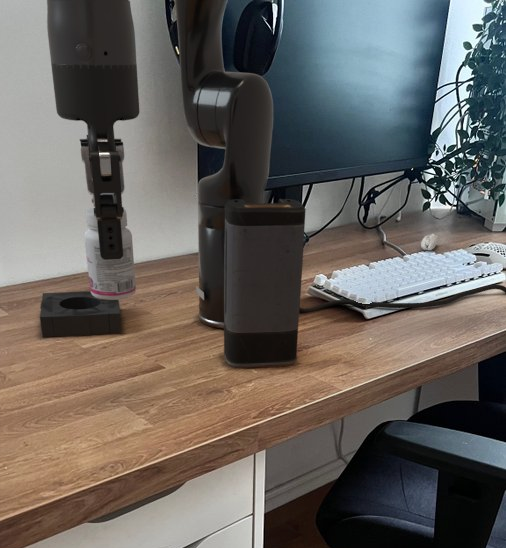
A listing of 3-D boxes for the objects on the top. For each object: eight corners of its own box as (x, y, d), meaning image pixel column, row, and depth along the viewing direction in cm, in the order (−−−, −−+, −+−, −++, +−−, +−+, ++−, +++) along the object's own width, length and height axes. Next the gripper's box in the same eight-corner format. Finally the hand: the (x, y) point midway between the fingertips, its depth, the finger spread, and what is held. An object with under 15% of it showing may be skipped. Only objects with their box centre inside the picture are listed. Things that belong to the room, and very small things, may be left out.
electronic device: (288, 349, 95) (297, 198, 85) (298, 366, 90) (309, 207, 80) (222, 352, 94) (223, 198, 84) (228, 369, 89) (230, 208, 79)
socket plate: (118, 308, 108) (116, 289, 107) (122, 333, 99) (121, 313, 97) (44, 311, 106) (42, 292, 105) (41, 337, 97) (38, 317, 95)
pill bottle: (92, 286, 74) (84, 205, 70) (137, 286, 75) (131, 205, 70) (88, 301, 70) (78, 216, 66) (135, 300, 71) (128, 215, 66)
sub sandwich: (439, 245, 150) (441, 232, 149) (432, 253, 144) (434, 240, 143) (424, 243, 151) (426, 230, 150) (417, 251, 145) (419, 238, 144)
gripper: (143, 62, 56) (155, 269, 65) (130, 58, 68) (141, 233, 77) (48, 61, 55) (73, 273, 63) (51, 56, 67) (72, 236, 75)
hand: (110, 250), depth 70 cm, fingers closed on pill bottle, 4 cm apart
